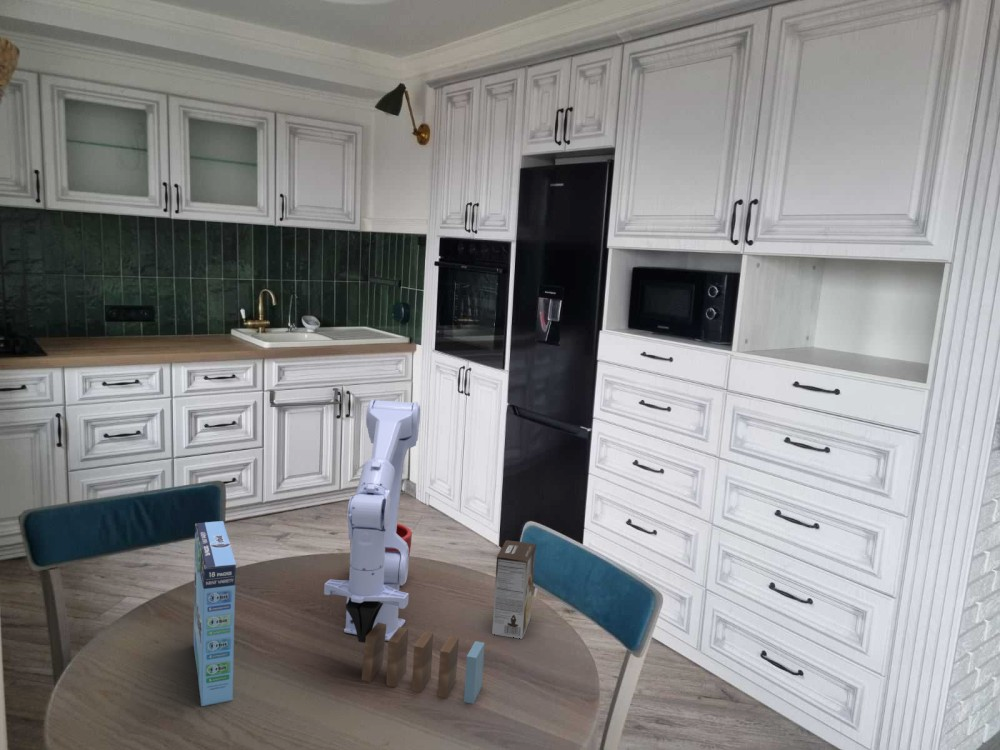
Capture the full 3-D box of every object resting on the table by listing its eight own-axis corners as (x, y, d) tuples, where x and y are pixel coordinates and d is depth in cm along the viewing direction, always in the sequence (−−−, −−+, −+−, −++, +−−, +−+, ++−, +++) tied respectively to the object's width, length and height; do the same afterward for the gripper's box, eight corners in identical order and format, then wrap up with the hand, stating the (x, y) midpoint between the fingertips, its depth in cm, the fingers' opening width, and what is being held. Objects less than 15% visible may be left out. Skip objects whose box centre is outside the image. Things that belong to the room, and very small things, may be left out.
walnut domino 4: (437, 696, 118) (440, 650, 116) (447, 679, 122) (449, 636, 121) (446, 698, 117) (449, 652, 116) (456, 681, 122) (458, 637, 121)
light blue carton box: (193, 645, 128) (193, 522, 125) (223, 640, 130) (224, 519, 127) (200, 708, 111) (200, 567, 107) (235, 701, 113) (237, 563, 110)
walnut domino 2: (386, 685, 120) (388, 640, 118) (397, 669, 124) (399, 626, 123) (395, 687, 119) (397, 642, 118) (406, 671, 124) (408, 628, 123)
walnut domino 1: (361, 679, 121) (365, 636, 119) (373, 664, 125) (378, 622, 124) (370, 682, 120) (374, 638, 119) (382, 666, 125) (386, 624, 124)
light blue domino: (463, 702, 117) (466, 656, 115) (472, 685, 121) (475, 641, 120) (473, 703, 116) (476, 658, 115) (481, 687, 121) (484, 642, 120)
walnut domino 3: (411, 691, 119) (414, 645, 117) (422, 674, 123) (424, 631, 122) (420, 692, 118) (423, 647, 117) (430, 676, 123) (433, 633, 122)
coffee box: (500, 613, 147) (505, 538, 145) (531, 618, 146) (536, 543, 144) (491, 635, 138) (496, 555, 136) (523, 640, 137) (529, 560, 135)
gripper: (316, 566, 118) (314, 642, 120) (398, 580, 115) (394, 659, 117) (336, 550, 125) (333, 623, 127) (414, 563, 122) (410, 638, 124)
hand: (364, 639), depth 122 cm, fingers closed
